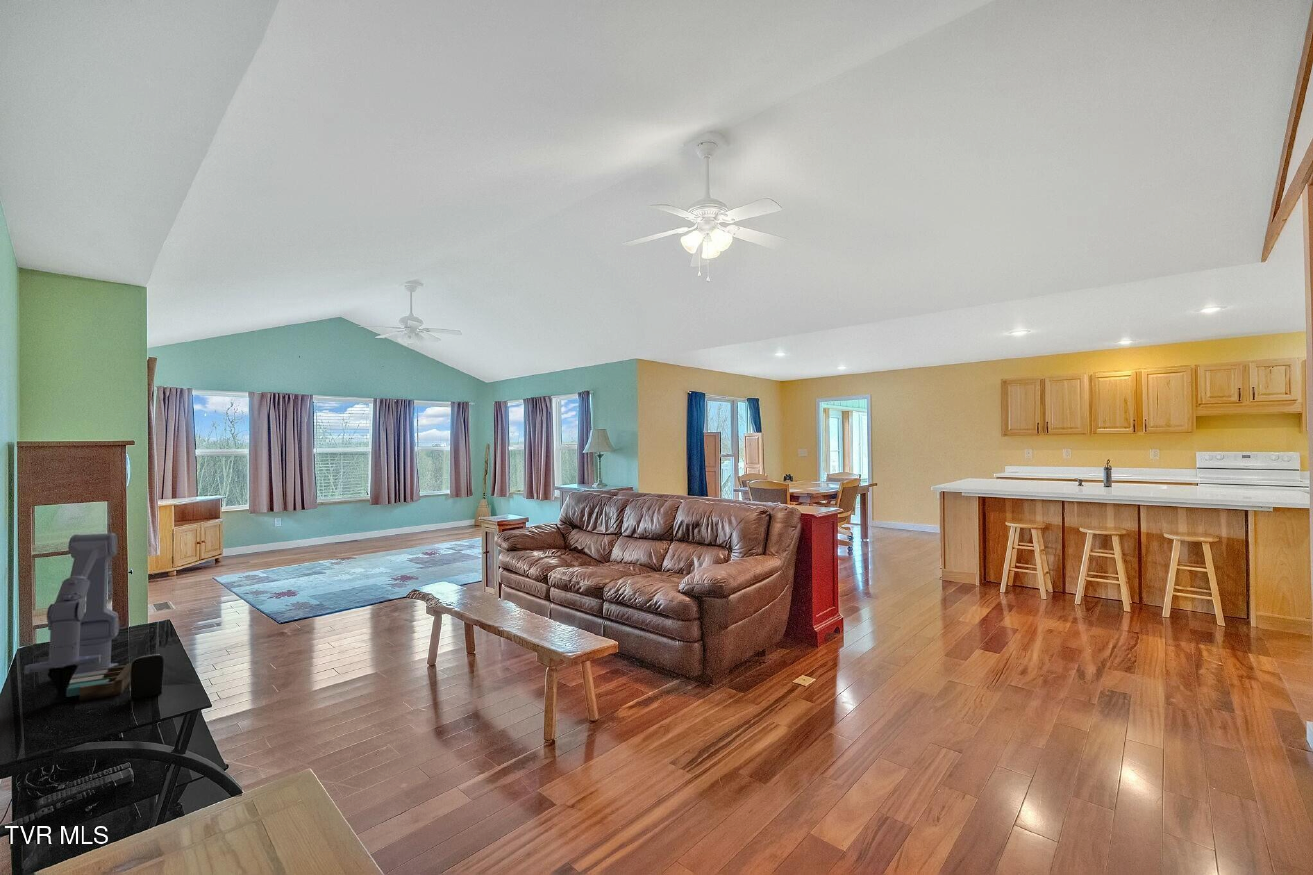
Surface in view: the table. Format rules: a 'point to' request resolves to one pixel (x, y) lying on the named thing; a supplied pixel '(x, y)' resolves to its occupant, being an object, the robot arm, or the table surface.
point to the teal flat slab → (75, 689)
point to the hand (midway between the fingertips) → (62, 694)
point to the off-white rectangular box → (84, 679)
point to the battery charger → (146, 676)
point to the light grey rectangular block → (88, 674)
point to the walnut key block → (115, 685)
